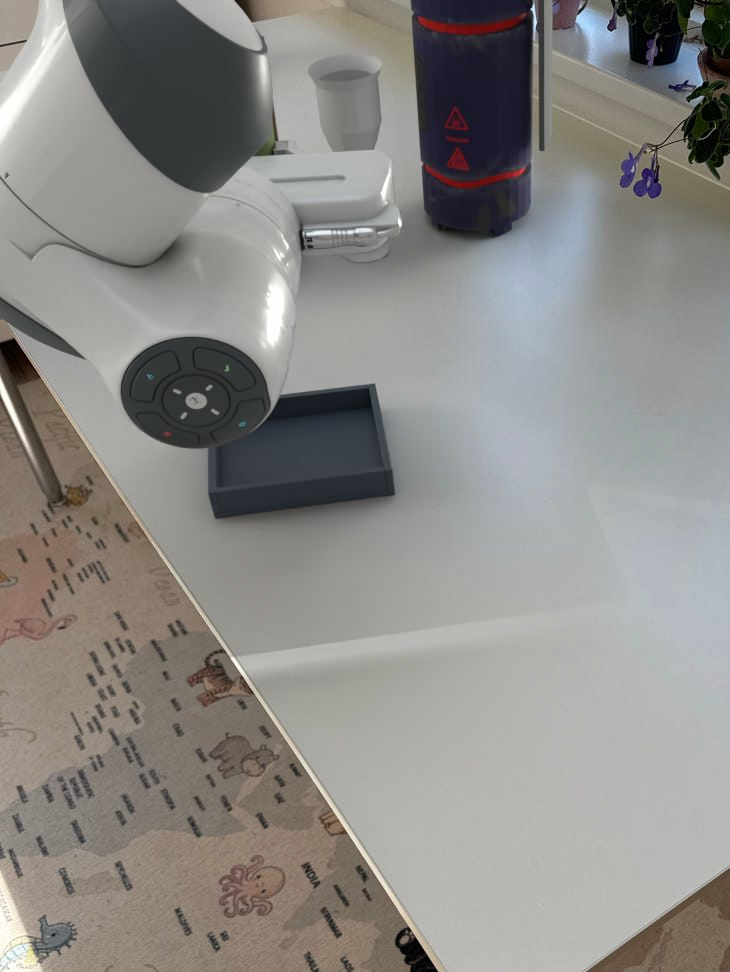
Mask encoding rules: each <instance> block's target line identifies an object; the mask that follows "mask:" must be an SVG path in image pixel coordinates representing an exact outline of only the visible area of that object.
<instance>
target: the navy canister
mask: <svg viewBox="0 0 730 972" xmlns="http://www.w3.org/2000/svg"><path fill="white" fill-rule="evenodd" d="M534 4H535V0H410V10H411V11H412V12H413V14H411V29H412V45H413V47H412V48H413V62H414V76H415V77H414V78H415V92H416V94H415V95H416V108H417V123H418V124H417V125H418V138H419V140H418V141H419V154H420V155H419V156H420V162H421V163H422V165H421V179H422V180H421V181H422V195H423V197H422V198H423V210H424V212H425V214H426V215H427V216H428V217H429V219H430V223H431V224H432V225H433V227H434V228H436V229H437V230H438V231H444V230H446V227H447V228H451V229H454V230H460V231H471V232H473V231H474V232H475V231H487V230H488V234H489V235H490V236H492V237H497V236H500V235H504V234H506V233H509V232H510V231H511V230H513V222H516V221H518V220H519V219H521V218H523V217H524V216H525V215H527V213H528V212H529V210H530V208H531V205H532V162H531V161H532V158H533V113H534V112H533V111H534V110H533V108H534V107H533V106H534V105H533V103H534V98H533V97H534V38H535V37H534V34H535V33H534V32H535V31H534V30H535V29H534V28H535V27H534V26H535V25H534V24H535V23H534V22H535V14H534V12H533V10H532V9H533V7H534ZM553 5H554V3H553V0H537V10H538V11H537V13H538V15H537V17H538V19H537V21H538V22H537V23H538V26H537V27H538V28H537V31H538V32H537V33H538V36H537V37H538V40H537V41H538V151H539V152H545V151H546V149H548V146H549V144H550V142H551V140H552V138H553Z"/></svg>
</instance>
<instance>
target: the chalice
mask: <svg viewBox="0 0 730 972" xmlns="http://www.w3.org/2000/svg"><path fill="white" fill-rule="evenodd" d="M382 67H383V62H382V61H381V60H380V59H379V58H377V57H375V56H372V55H369V54H362V53H344V54H336V55H332V56H327V57H324V58H321V59H319V60H316V61H315V62H313V63H311V64H310V65H309V66H308V68H307V74H308V76H309V77H310V79H311V80H312V82H313V84H314V88H315V95H316V104H317V111H318V120H319V126H320V129H321V131H322V133H323V135H324V137H325V140H326V142H327V144H328V146H329V148H330V150H332V151H331V152H343V151H361V150H375V148H376V145H377V142H378V138H379V135H380V129H381V124H382V109H381V97H380V87H379V85H380V84H379V76H380V73H381V70H382ZM389 251H390V248H389V246H388V244H387V243H386V241H385V242H384V243H383V244H382V245H381V246H379V247H378V248H376V249H374V250H370V251H366V252H360V253H349V254H341V256H342V257H343V258H344V259H345V260H348V261H349V262H353V263H373V262H375V261H379V260H382V259H383V258H384V257H386V256H387V254H389Z"/></svg>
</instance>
